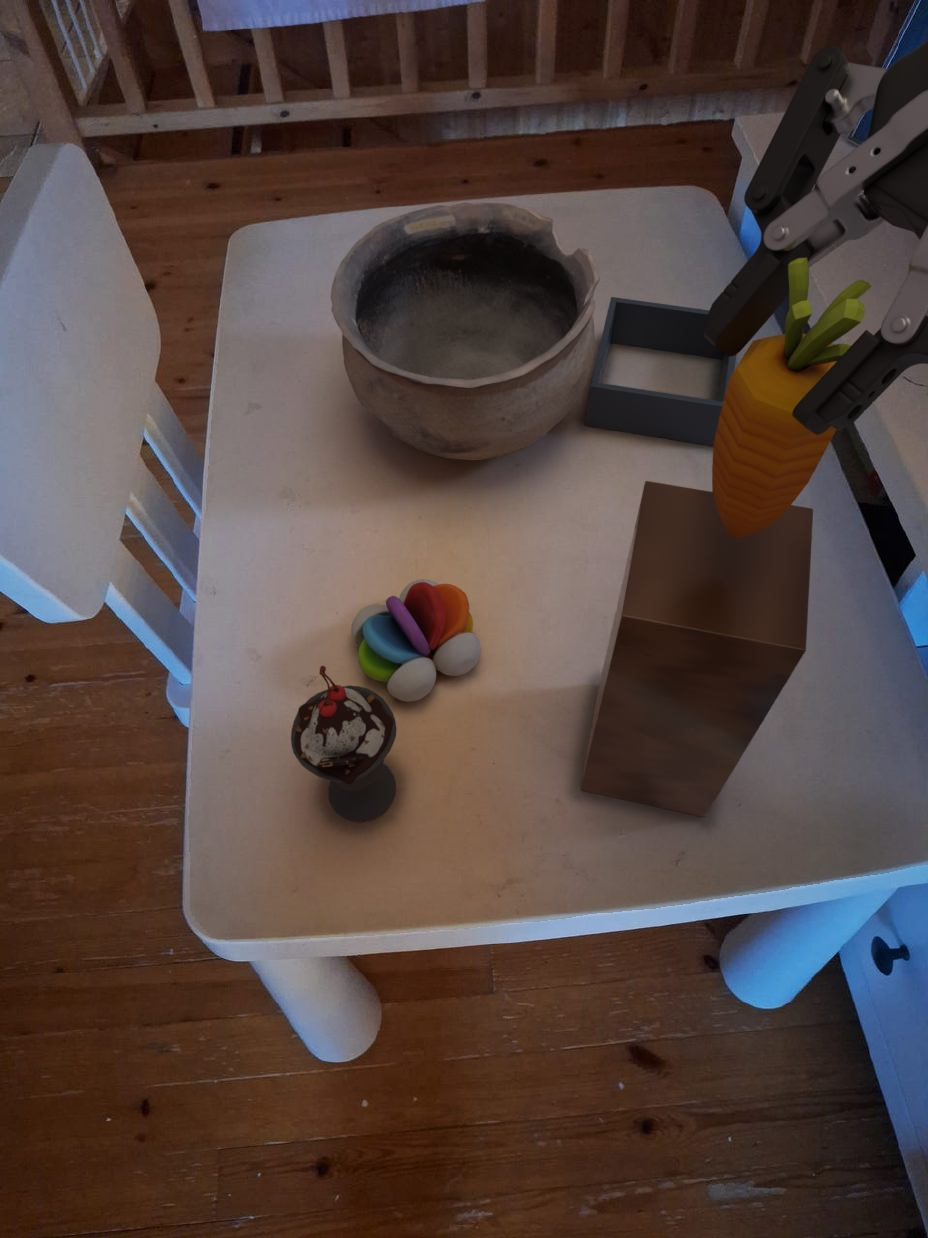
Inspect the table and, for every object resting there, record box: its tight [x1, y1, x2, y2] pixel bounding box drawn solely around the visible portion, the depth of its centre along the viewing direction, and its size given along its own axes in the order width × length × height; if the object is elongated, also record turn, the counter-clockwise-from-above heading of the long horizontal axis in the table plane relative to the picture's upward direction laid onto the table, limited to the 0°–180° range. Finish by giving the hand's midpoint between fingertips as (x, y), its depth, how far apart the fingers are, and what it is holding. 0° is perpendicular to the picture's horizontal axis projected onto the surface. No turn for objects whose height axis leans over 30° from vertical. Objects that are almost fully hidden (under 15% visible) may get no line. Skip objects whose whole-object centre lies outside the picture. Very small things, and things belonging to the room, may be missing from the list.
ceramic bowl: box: [330, 202, 601, 461], centre depth 79 cm, size 22×22×15 cm
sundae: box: [290, 665, 397, 823], centre depth 59 cm, size 7×7×15 cm
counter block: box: [579, 480, 814, 818], centre depth 57 cm, size 9×9×24 cm
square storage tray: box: [584, 296, 737, 447], centre depth 84 cm, size 12×12×5 cm
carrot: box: [711, 258, 873, 539], centre depth 38 cm, size 5×5×15 cm
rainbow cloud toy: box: [350, 578, 481, 702], centre depth 69 cm, size 8×10×7 cm
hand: (761, 383), depth 35 cm, fingers closed on carrot, 4 cm apart
